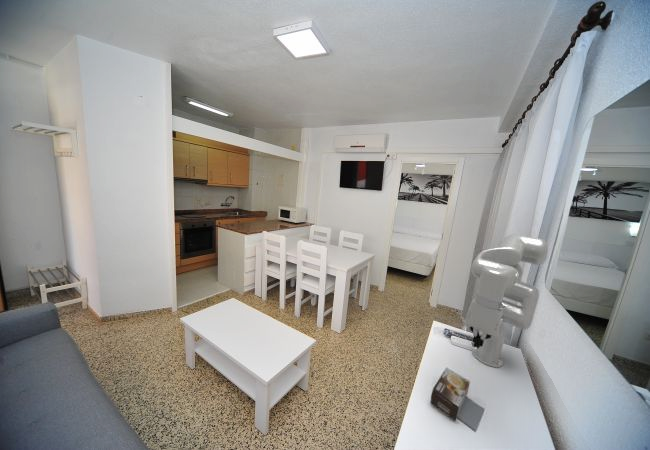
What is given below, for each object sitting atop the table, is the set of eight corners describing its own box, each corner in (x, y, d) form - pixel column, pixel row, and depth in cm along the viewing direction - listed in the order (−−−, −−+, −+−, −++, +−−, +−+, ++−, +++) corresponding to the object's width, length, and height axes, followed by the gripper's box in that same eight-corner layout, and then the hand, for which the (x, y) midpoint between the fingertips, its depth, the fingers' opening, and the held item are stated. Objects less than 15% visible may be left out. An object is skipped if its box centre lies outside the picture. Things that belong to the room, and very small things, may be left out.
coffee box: (443, 379, 96) (428, 402, 85) (446, 366, 95) (431, 388, 84) (467, 394, 90) (455, 421, 79) (471, 381, 89) (458, 406, 78)
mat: (447, 385, 94) (448, 384, 94) (484, 410, 85) (484, 408, 85) (436, 403, 86) (436, 401, 86) (475, 432, 77) (475, 430, 77)
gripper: (516, 307, 77) (503, 353, 81) (467, 289, 88) (458, 331, 91) (512, 315, 72) (499, 363, 76) (461, 295, 83) (451, 338, 86)
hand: (477, 345), depth 84 cm, fingers closed
